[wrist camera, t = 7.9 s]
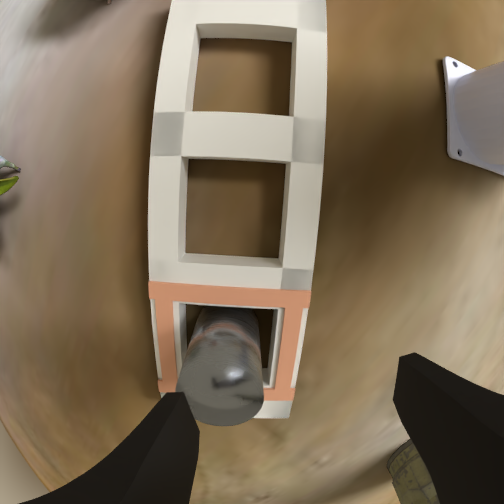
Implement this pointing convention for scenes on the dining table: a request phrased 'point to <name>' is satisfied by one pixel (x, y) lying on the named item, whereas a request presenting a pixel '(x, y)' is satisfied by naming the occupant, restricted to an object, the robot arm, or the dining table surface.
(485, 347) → the dining table surface
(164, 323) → the hole rail
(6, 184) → the passion flower
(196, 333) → the metal peg
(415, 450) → the thermos
